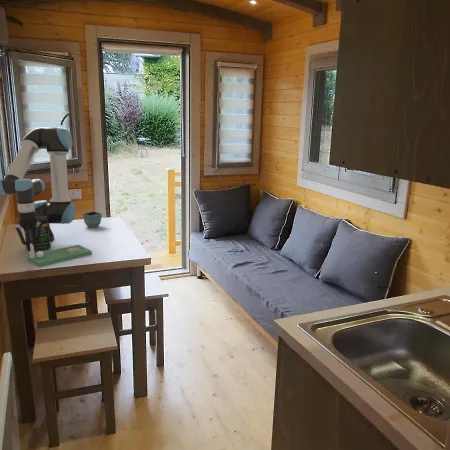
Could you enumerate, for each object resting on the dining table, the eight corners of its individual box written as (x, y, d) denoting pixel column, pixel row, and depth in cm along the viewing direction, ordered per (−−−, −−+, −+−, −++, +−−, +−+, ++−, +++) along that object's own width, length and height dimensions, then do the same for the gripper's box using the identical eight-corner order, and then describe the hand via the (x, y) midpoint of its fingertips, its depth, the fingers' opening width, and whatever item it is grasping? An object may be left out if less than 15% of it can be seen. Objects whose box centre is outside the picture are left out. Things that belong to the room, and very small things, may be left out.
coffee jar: (32, 252, 229) (28, 219, 224) (31, 248, 236) (27, 215, 231) (51, 250, 233) (48, 217, 228) (50, 246, 240) (47, 214, 235)
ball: (35, 257, 216) (34, 251, 215) (42, 256, 218) (41, 249, 217) (38, 259, 213) (37, 252, 212) (45, 257, 216) (44, 251, 215)
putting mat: (27, 259, 219) (26, 255, 218) (78, 247, 237) (78, 244, 237) (38, 267, 208) (38, 263, 208) (91, 254, 227) (91, 250, 227)
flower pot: (92, 229, 274) (91, 215, 272) (83, 227, 279) (82, 213, 277) (102, 226, 281) (101, 213, 279) (93, 224, 286) (92, 211, 284)
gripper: (15, 214, 199) (21, 262, 206) (43, 210, 208) (48, 255, 214) (9, 211, 205) (15, 258, 211) (37, 207, 213) (42, 252, 220)
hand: (32, 256), depth 213 cm, fingers closed
